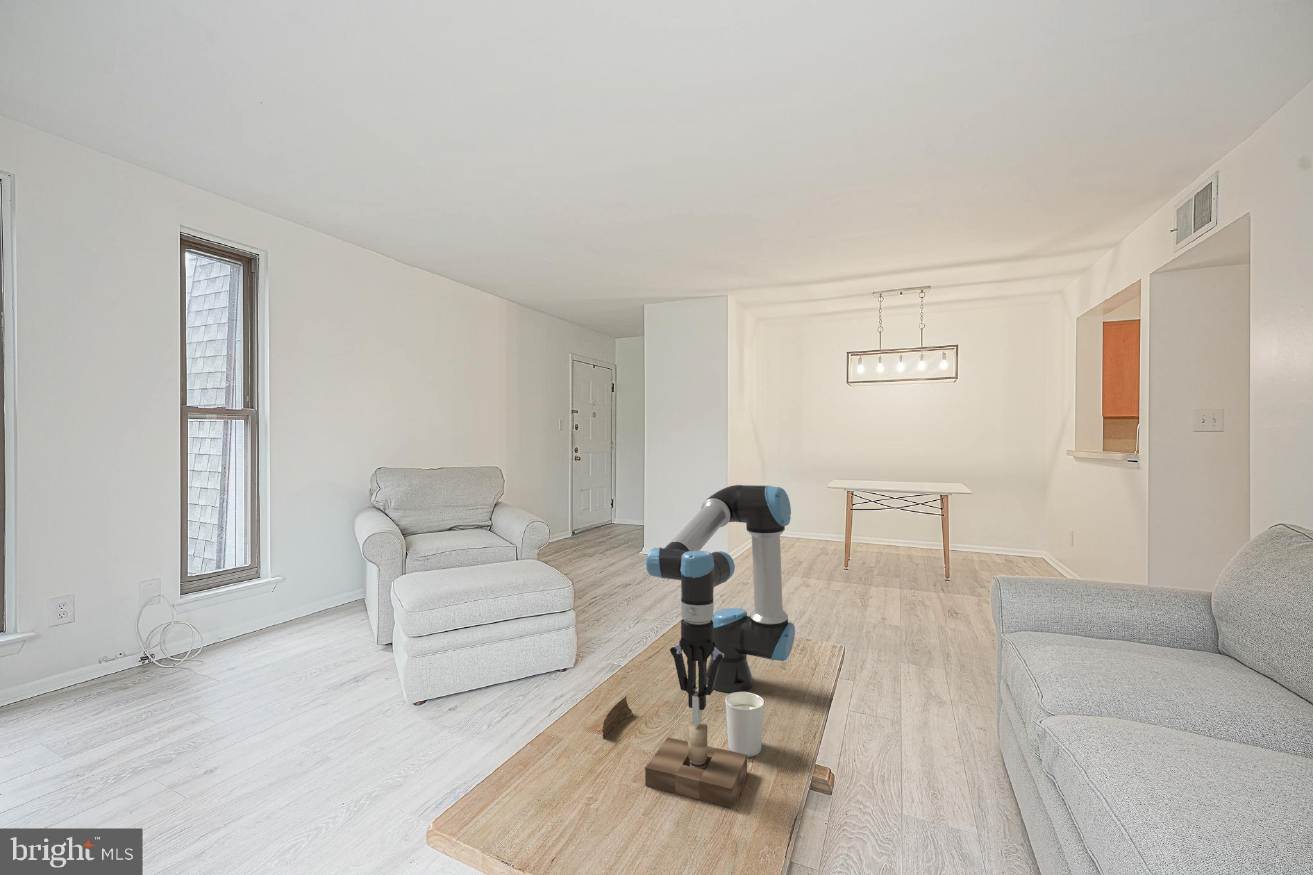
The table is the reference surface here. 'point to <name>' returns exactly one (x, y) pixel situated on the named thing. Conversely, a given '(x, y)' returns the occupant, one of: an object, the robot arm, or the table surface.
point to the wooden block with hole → (697, 773)
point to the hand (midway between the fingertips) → (697, 722)
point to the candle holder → (744, 722)
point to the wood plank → (616, 715)
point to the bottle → (697, 745)
